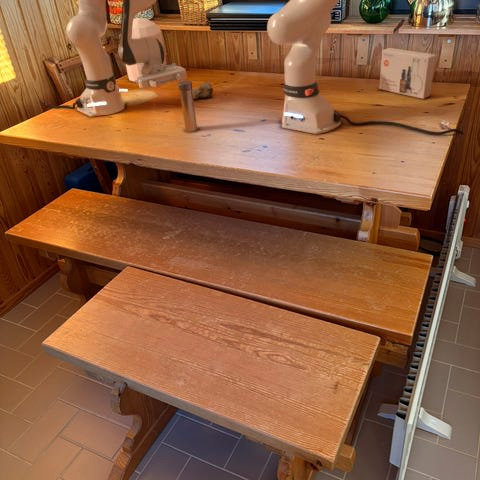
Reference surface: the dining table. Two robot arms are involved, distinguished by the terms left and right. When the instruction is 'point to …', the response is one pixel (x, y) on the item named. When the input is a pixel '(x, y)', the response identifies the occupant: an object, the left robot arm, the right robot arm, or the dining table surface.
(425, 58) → the skincare box
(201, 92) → the rock
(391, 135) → the dining table surface
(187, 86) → the lid
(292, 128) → the right robot arm
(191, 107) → the brown cylinder
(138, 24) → the container
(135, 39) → the left robot arm
